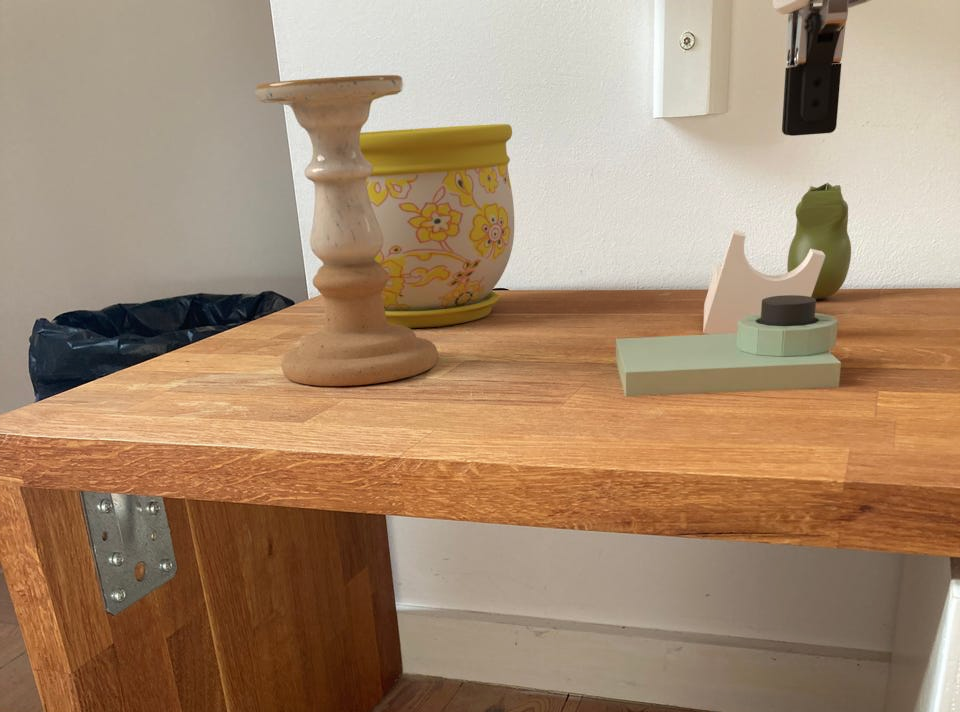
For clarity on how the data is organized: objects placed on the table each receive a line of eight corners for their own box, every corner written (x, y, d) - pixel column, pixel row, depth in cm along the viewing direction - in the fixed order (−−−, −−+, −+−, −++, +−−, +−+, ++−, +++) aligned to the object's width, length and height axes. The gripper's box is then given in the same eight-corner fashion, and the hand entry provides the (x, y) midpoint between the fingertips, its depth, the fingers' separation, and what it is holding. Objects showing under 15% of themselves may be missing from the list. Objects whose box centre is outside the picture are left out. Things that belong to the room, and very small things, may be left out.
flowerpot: (469, 338, 90) (456, 129, 82) (299, 331, 97) (273, 139, 90) (547, 302, 104) (542, 121, 97) (394, 299, 111) (378, 130, 104)
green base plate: (812, 352, 77) (816, 304, 76) (850, 387, 68) (856, 333, 66) (615, 361, 79) (615, 314, 77) (625, 397, 69) (625, 344, 67)
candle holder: (468, 357, 83) (450, 72, 73) (371, 393, 74) (336, 74, 65) (352, 347, 89) (322, 84, 80) (250, 379, 80) (203, 87, 71)
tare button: (807, 319, 73) (809, 294, 72) (819, 329, 70) (821, 302, 69) (755, 322, 73) (757, 296, 72) (765, 332, 70) (767, 305, 69)
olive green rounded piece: (849, 294, 98) (860, 180, 93) (842, 304, 94) (854, 184, 89) (789, 293, 100) (797, 182, 95) (780, 303, 96) (788, 186, 91)
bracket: (790, 354, 81) (825, 255, 77) (703, 332, 82) (733, 233, 78) (781, 322, 92) (811, 235, 89) (704, 303, 93) (730, 216, 89)
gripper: (943, -262, 53) (900, 132, 62) (863, -189, 66) (837, 127, 75) (795, -247, 54) (773, 141, 62) (745, -178, 67) (733, 135, 75)
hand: (808, 133), depth 68 cm, fingers closed
